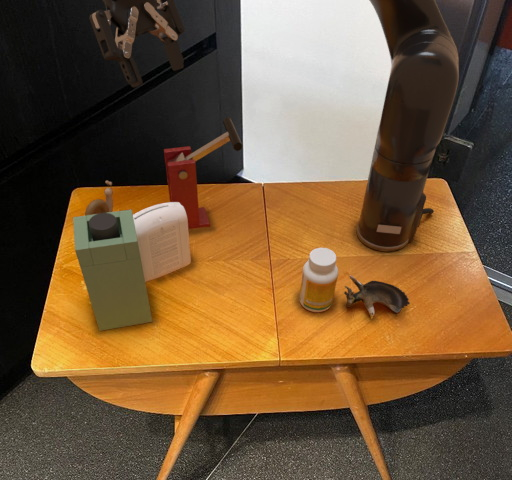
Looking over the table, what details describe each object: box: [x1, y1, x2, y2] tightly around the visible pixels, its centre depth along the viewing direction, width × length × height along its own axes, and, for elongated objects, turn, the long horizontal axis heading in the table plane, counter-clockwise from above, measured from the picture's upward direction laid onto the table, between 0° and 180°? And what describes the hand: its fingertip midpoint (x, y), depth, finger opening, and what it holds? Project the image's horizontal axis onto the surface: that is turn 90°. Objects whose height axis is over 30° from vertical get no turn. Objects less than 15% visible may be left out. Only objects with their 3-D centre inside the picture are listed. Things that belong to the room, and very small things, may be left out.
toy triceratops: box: [344, 274, 411, 320], centre depth 85 cm, size 8×7×9 cm
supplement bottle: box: [298, 247, 339, 313], centre depth 84 cm, size 5×5×10 cm
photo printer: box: [133, 201, 192, 283], centre depth 87 cm, size 10×4×12 cm, turn 123°
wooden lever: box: [169, 116, 243, 162], centre depth 89 cm, size 12×8×2 cm, turn 104°
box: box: [72, 209, 153, 332], centre depth 79 cm, size 8×7×16 cm
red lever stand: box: [163, 145, 211, 230], centre depth 94 cm, size 8×6×14 cm
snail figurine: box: [84, 179, 114, 216], centre depth 90 cm, size 5×6×12 cm
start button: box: [89, 213, 120, 241], centre depth 73 cm, size 4×4×3 cm
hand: (158, 77), depth 84 cm, fingers open, 8 cm apart
